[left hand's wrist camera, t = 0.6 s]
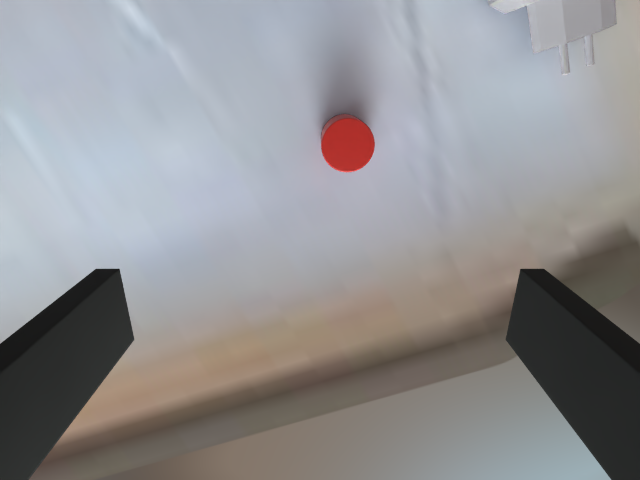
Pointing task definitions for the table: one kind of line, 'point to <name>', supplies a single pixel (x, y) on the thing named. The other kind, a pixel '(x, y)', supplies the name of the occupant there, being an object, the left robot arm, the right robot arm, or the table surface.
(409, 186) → the table surface
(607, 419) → the left robot arm
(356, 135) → the can
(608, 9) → the charger
